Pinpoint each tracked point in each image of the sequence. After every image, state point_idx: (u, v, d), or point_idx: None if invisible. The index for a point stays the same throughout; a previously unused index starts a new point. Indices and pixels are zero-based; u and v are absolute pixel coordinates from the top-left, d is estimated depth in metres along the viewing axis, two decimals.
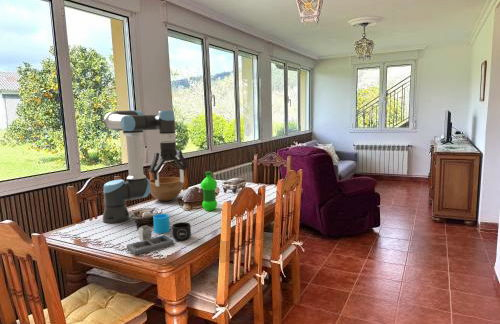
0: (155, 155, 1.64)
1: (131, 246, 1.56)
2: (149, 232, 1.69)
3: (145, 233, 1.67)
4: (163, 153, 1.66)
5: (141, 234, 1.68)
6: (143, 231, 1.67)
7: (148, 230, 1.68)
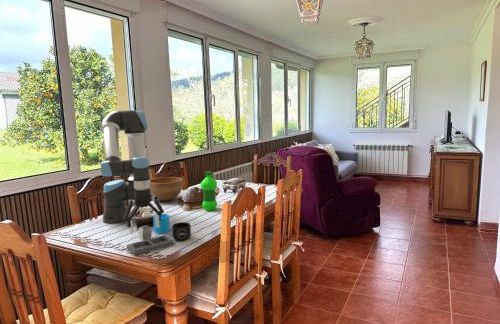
0: (129, 203, 1.63)
1: (131, 246, 1.56)
2: (149, 232, 1.69)
3: (145, 233, 1.67)
4: (137, 200, 1.64)
5: (141, 234, 1.68)
6: (143, 231, 1.67)
7: (148, 230, 1.68)
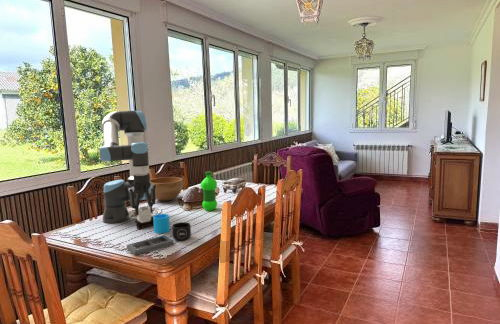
0: (129, 191, 1.63)
1: (131, 246, 1.56)
2: (148, 213, 1.68)
3: (143, 214, 1.66)
4: (136, 186, 1.64)
5: None
6: (142, 212, 1.66)
7: (147, 211, 1.67)
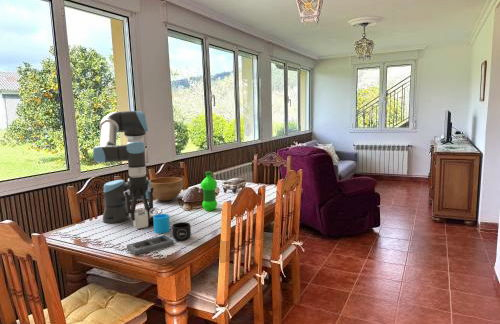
0: (124, 194, 1.50)
1: (131, 246, 1.56)
2: (145, 218, 1.55)
3: (140, 219, 1.54)
4: (132, 189, 1.51)
5: None
6: (138, 217, 1.53)
7: (144, 216, 1.55)
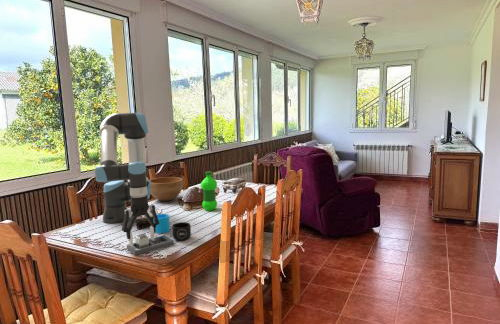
0: (125, 213, 1.51)
1: (131, 246, 1.56)
2: (146, 241, 1.57)
3: (141, 242, 1.55)
4: (133, 208, 1.52)
5: (138, 243, 1.55)
6: (140, 240, 1.55)
7: (145, 239, 1.56)
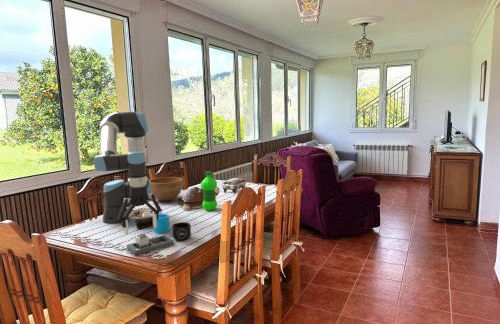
0: (124, 201, 1.51)
1: (131, 246, 1.56)
2: (146, 241, 1.57)
3: (141, 242, 1.55)
4: (133, 198, 1.52)
5: (138, 243, 1.55)
6: (140, 240, 1.55)
7: (145, 239, 1.56)
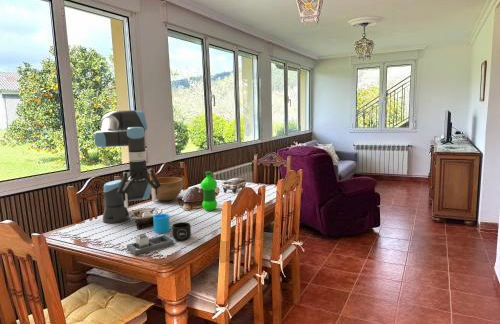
0: (123, 175, 1.55)
1: (131, 246, 1.56)
2: (146, 241, 1.57)
3: (141, 242, 1.55)
4: (132, 172, 1.56)
5: (138, 243, 1.55)
6: (140, 240, 1.55)
7: (145, 239, 1.56)
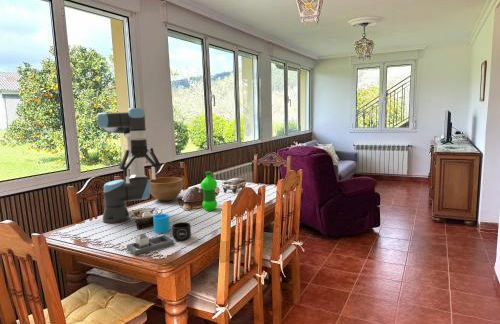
0: (125, 152, 1.66)
1: (131, 246, 1.56)
2: (146, 241, 1.57)
3: (141, 242, 1.55)
4: (133, 150, 1.67)
5: (138, 243, 1.55)
6: (140, 240, 1.55)
7: (145, 239, 1.56)
